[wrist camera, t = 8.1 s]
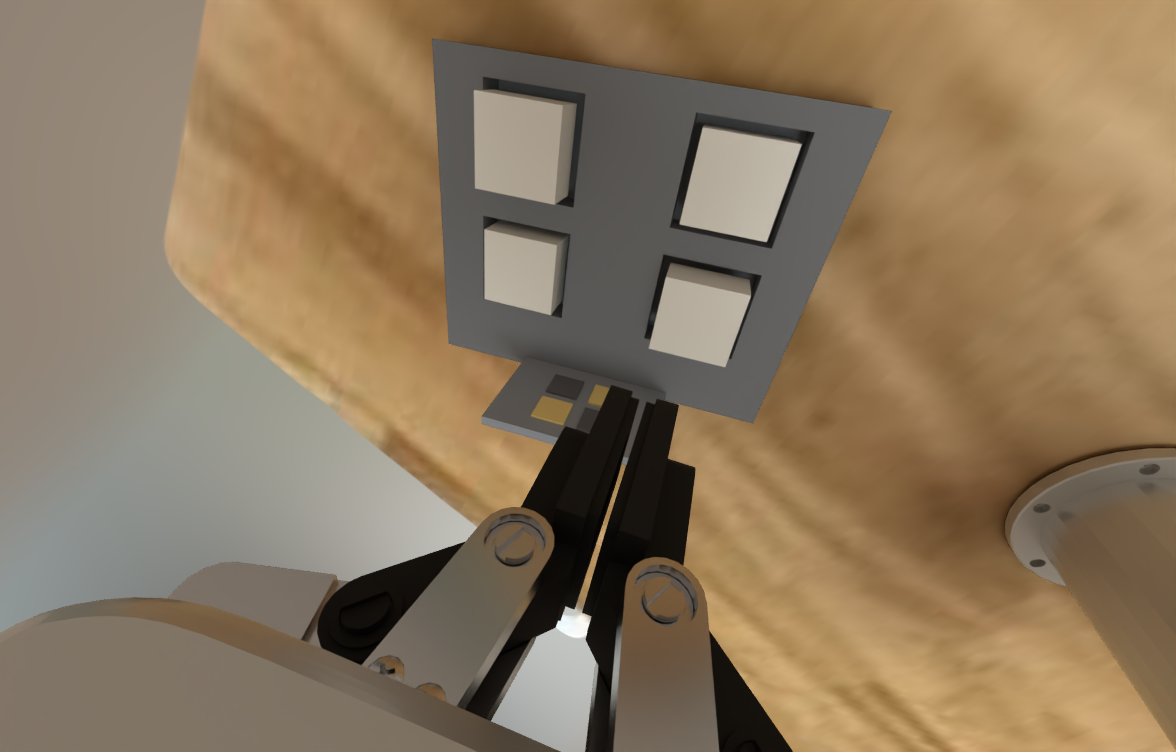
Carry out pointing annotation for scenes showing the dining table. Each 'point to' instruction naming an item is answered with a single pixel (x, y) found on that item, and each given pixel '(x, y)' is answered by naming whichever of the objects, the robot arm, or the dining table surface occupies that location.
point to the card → (557, 402)
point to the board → (642, 219)
